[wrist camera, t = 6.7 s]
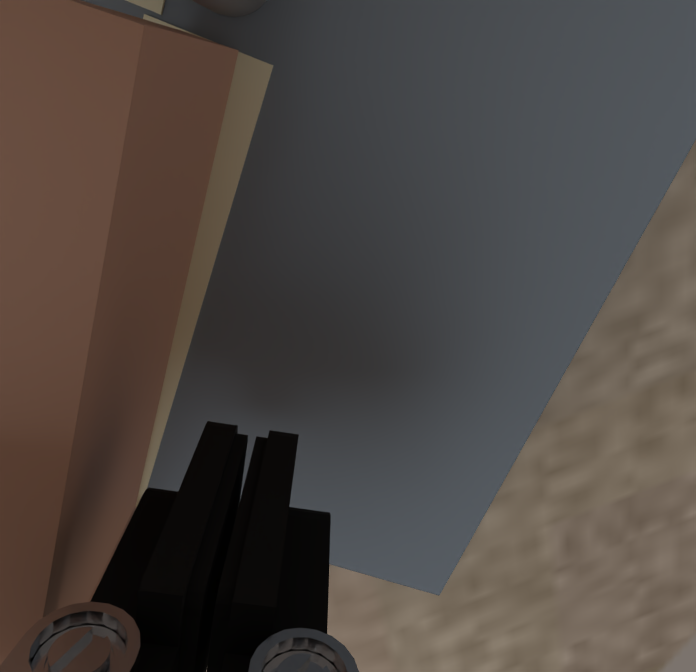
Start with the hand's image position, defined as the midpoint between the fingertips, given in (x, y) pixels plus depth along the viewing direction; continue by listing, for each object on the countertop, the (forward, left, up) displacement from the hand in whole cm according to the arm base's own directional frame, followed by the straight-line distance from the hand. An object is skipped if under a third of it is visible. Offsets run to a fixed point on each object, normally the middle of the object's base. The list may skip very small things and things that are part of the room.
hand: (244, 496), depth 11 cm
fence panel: (-1, -3, -4) cm, 5 cm away
